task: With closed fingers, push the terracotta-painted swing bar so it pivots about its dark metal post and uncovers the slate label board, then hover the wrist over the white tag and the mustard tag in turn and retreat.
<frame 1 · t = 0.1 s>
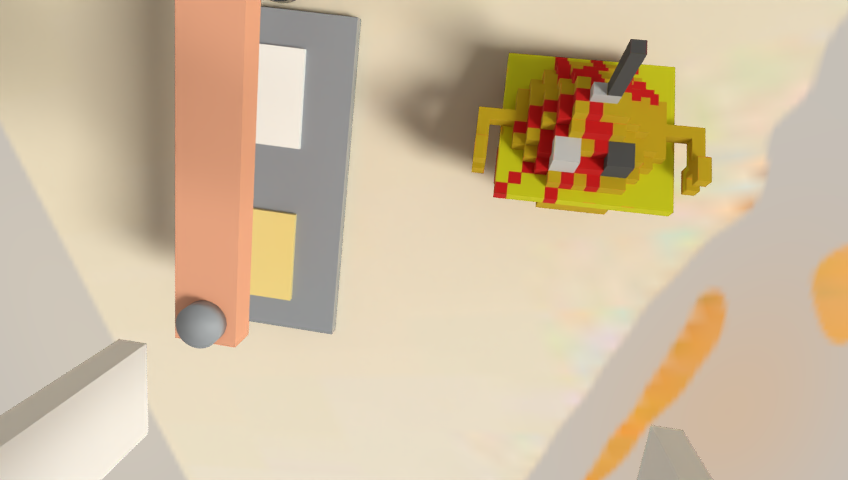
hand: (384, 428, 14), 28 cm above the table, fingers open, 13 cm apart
toy: (571, 133, 38), on the table
label board: (271, 175, 41), on the table
swing arm: (236, 136, 34), point 6 cm above the table, hinge at 0.0°
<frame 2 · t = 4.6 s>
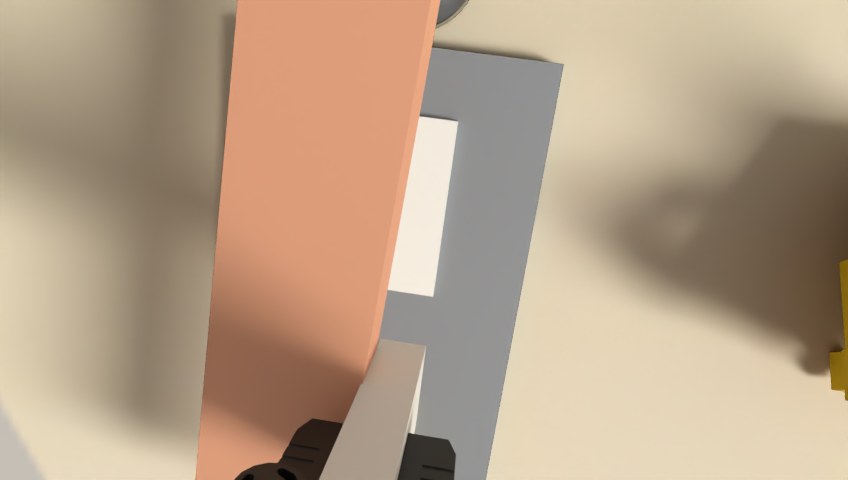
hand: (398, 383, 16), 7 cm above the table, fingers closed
label board: (372, 329, 24), on the table
swing arm: (325, 309, 17), point 6 cm above the table, hinge at 3.5°, touching gripper
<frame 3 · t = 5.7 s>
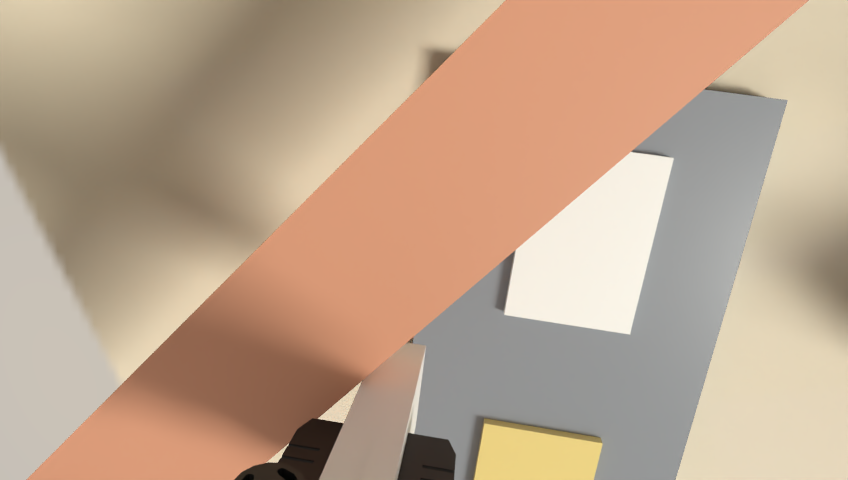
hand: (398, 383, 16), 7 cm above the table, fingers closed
label board: (549, 364, 23), on the table
swing arm: (372, 245, 16), point 6 cm above the table, hinge at 39.0°, touching gripper
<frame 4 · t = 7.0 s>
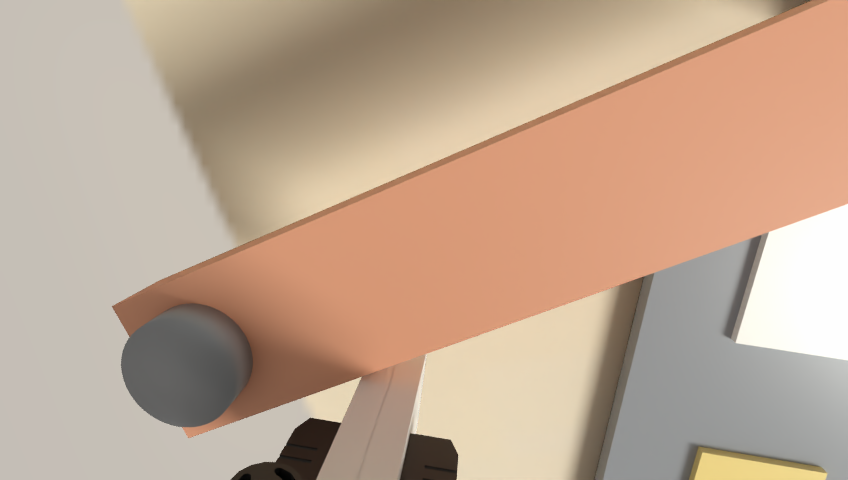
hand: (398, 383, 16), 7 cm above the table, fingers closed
label board: (764, 391, 23), on the table
swing arm: (603, 163, 15), point 6 cm above the table, hinge at 59.3°
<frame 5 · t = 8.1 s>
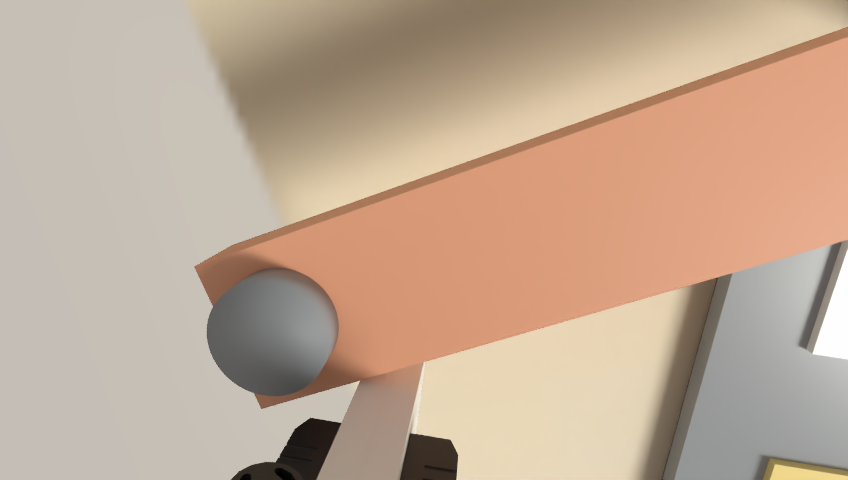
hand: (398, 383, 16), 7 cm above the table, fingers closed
label board: (835, 401, 22), on the table
swing arm: (700, 150, 14), point 6 cm above the table, hinge at 63.1°, touching gripper
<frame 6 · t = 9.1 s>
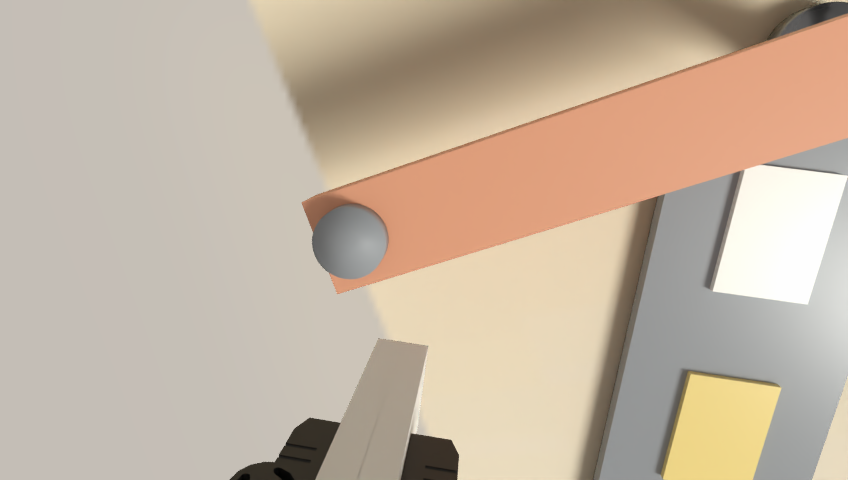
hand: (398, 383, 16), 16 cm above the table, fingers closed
label board: (735, 330, 31), on the table
swing arm: (614, 140, 23), point 6 cm above the table, hinge at 64.2°
pivot pedestal: (812, 59, 27), on the table
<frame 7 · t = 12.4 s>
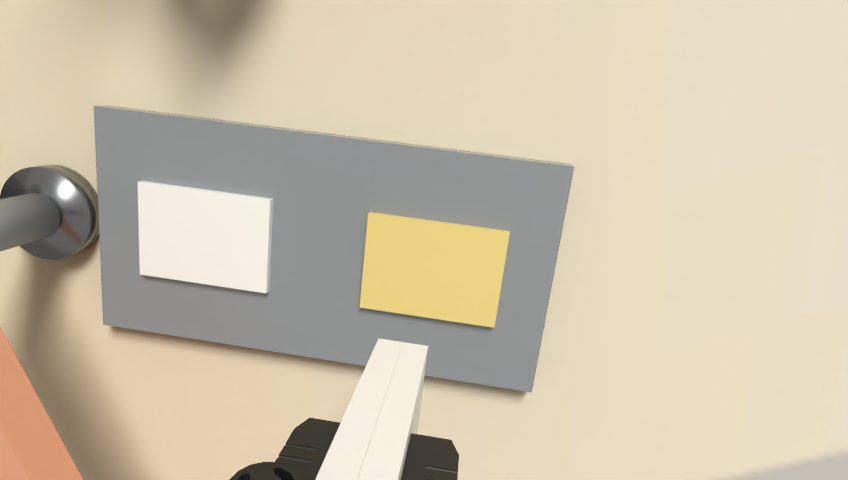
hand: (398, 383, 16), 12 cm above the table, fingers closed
label board: (323, 247, 28), on the table
swing arm: (72, 459, 26), point 6 cm above the table, hinge at 64.2°
pivot pedestal: (60, 210, 29), on the table
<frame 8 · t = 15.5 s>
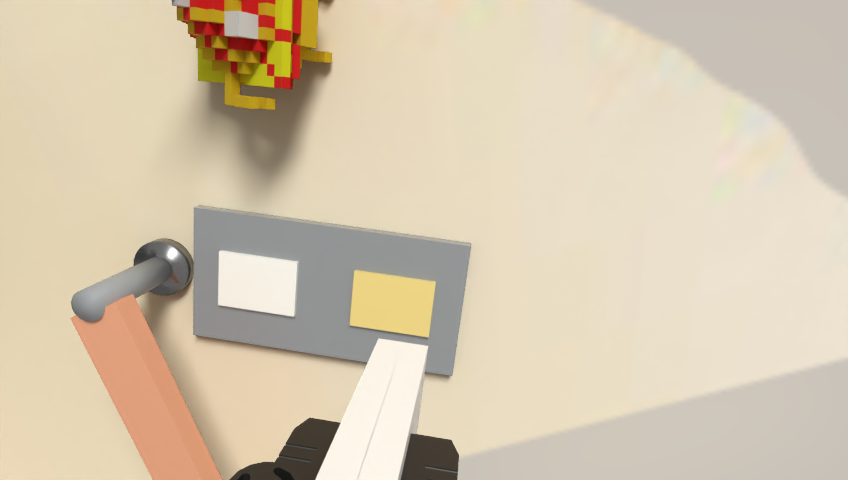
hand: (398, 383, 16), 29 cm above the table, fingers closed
toy: (274, 19, 42), on the table
label board: (328, 289, 47), on the table
swing arm: (183, 413, 45), point 6 cm above the table, hinge at 64.2°
pivot pedestal: (168, 265, 48), on the table
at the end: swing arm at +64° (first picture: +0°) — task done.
